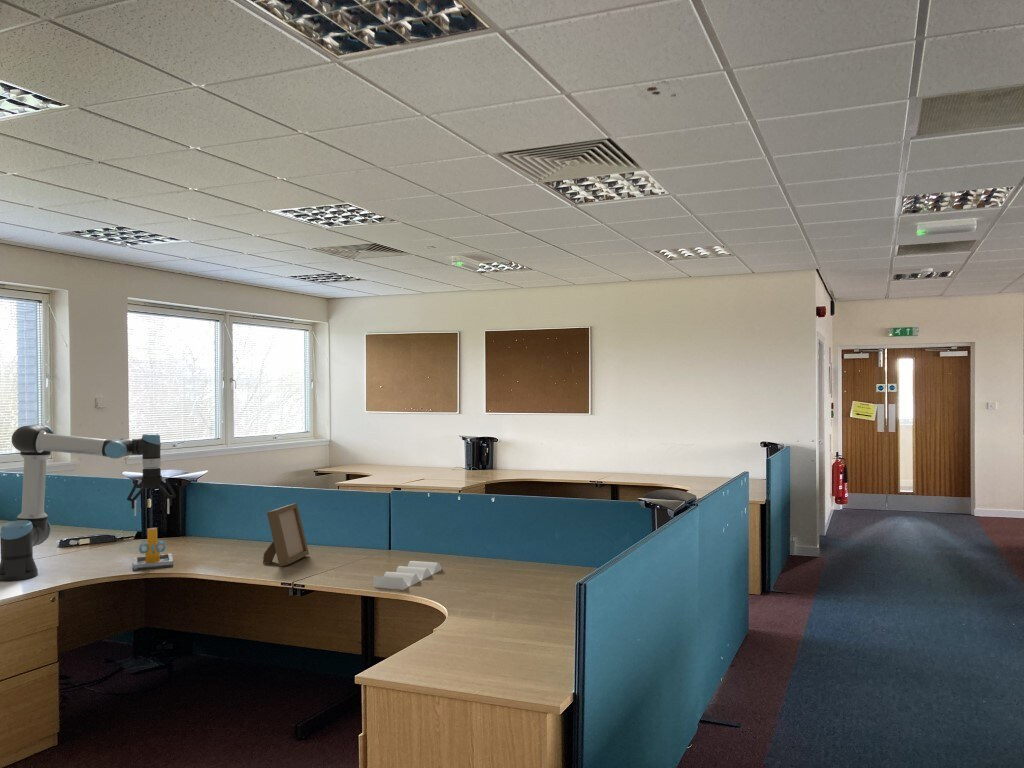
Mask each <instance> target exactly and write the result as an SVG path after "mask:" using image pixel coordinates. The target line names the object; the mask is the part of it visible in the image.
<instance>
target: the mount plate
mask: <svg viewBox="0 0 1024 768" xmlns="http://www.w3.org/2000/svg"><path fill="white" fill-rule="evenodd" d="M170 567H173V568H174V558H173V553H164V554H163V553H160V561H159V562H151V563H146V562H145V555H143V556H133V571H144V570H152V569H162V568H170Z"/></svg>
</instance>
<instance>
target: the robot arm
mask: <svg viewBox="0 0 1024 768" xmlns="http://www.w3.org/2000/svg"><path fill="white" fill-rule="evenodd" d="M141 436H142V437H140V438H116V439H105V438H97V437H96V438H95V437H86V436H79V435H78V436H77V435H66V434H57V433H55V431H54V429H52V428H51V427H50V426H48V425H46V424H37V423H36V424H29V425H24V426H20V427H18V428H17V429H15V430H14V432H13V433H12V436H11V444H12V446H13V447H14V449H16V450H17V451H18V452H20V457H22V459H23V473H22V475H23V477H22V478H23V479H22V495H21V497H22V499H21V512H20V513H19V514H18V515H17V516H16V518H17V519H16V520H13V521H9V522H6V523H4V524H2V525H1V527H0V582H12V581H14V582H16V581H20V580H21V581H22V580H26V579H31V578H34V577H37V576H38V573H39V572H38V571H39V569H38V567H37V566H38V565H36V562H35V560H34V553H33V552H34V551H33V549H34V547H36V546H38V545H40V544H43V543H44V542H45V541H46V540H48V538H49V537H50V535H51V532H52V526H51V524H50V522H49V520H48V517H49V516H48V514H47V513H46V512H45V496H46V495H45V494H46V478H47V477H46V475H47V460H48V458H49V457H50V456H51V455H52V452H55V453H67V454H77V455H87V456H95V457H97V456H98V457H106V458H110V459H115V460H116V459H121V458H124V457H127V456H142V461H141V463H142V479H138V478H135V480H134V484H133V486H132V488H131V490H130V492H129V494H128V496H127V498H126V500H127V501H129V502H131V509H132V510H134V512H133V513H134V514H133V515H134V517H137V500H136V499H138V497H140V495H141V494H142V493H143V492H144V490H146V489H147V490H148V489H149V490H150V489H156V488H158V489H159V490H160V491H161V492H162V493H163V494H164V495H165V496H166V497H167V499H166V501H167V502H166V503H167V507H166V508H167V512H166V513H167V514H168V515H170V507H172V506H173V499H175V498H176V497H177V495H176V493H175V491H174V489H173V488H172V486H171V484H170V482H169V478H168V477H165V478H164V477H163V478H162V473H161V472H162V471H161V470H162V469H161V448H162V447H161V445H162V444H161V436H160V434H158V433H144V434H142V435H141ZM162 482H163V483H164V484H166V486H167V489H168V490H169V492H170V493H171V495H170V493H169V492H168V491H167V490H166V489H165V488H164V487H163V486H162V485H161V483H162ZM141 483H142V485H143V486H142V487H141V488H140V489H139V490H138V491H137V492H136V494H135V495H134V493H135V491H136V488H137V487H138V485H140V484H141ZM133 495H134V496H133Z"/></svg>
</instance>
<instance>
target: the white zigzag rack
mask: <svg viewBox="0 0 1024 768" xmlns="http://www.w3.org/2000/svg"><path fill="white" fill-rule="evenodd" d="M442 568H443V567H442V566H441V563H439V562H434V561H419V560H418V561H417V560H410V561H408V564H407V566H404V565H398V566H397V567H396V571H385V572H384V575H381V576H380V575H373V588H377V589H379V588H380V589H389V590H390V589H391V590H392V589H393V590H402V591H403V590H404V591H405V590H406V589H407V588H409V587H411V586H413V585H416V584H417V583H419V582H421V581H423V580H425V579H427V578H429V577H431V576H432V575H434V574H437V573H438V572H441V571H442V570H443V569H442Z"/></svg>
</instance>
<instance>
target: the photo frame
mask: <svg viewBox="0 0 1024 768" xmlns="http://www.w3.org/2000/svg"><path fill="white" fill-rule="evenodd" d="M266 515H267V516H266V517H267V519H268V523H269V527H270V533H271V537H272V540H273V541H272V542H271V543H270V545H269V546H268V547H267V549H266V550H265V551H264V553H263V556H262V563H263V564H267V563H273V560H274V558H275V556H276V557H277V563H278V566H279V567H283V566H288V565H291V564H292V563H294V562H296V561H298V560H300V559H302V558H304V557H307V556H308V555H310V553H309V547H308V544H307V543H308V542H307V540H306V536H305V531H304V527H303V522H302V519H301V515H300V509H299V505H298V503H297V502H295V503H292V504H291V503H290V504H287V505H285V506H282V507H279V508H275V509H273V510H270V511H267V512H266Z"/></svg>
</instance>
